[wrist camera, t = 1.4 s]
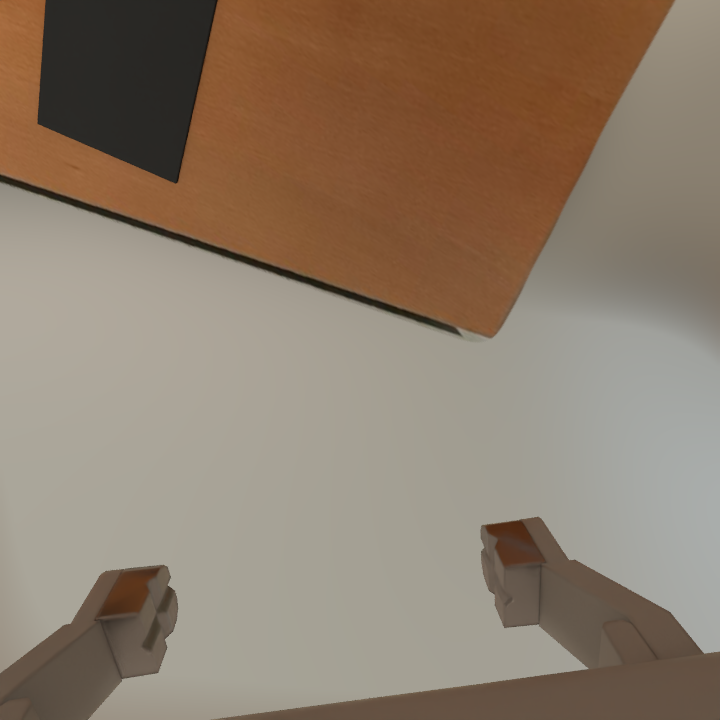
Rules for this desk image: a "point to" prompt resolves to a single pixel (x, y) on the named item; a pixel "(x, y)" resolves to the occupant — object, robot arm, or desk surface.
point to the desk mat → (125, 76)
